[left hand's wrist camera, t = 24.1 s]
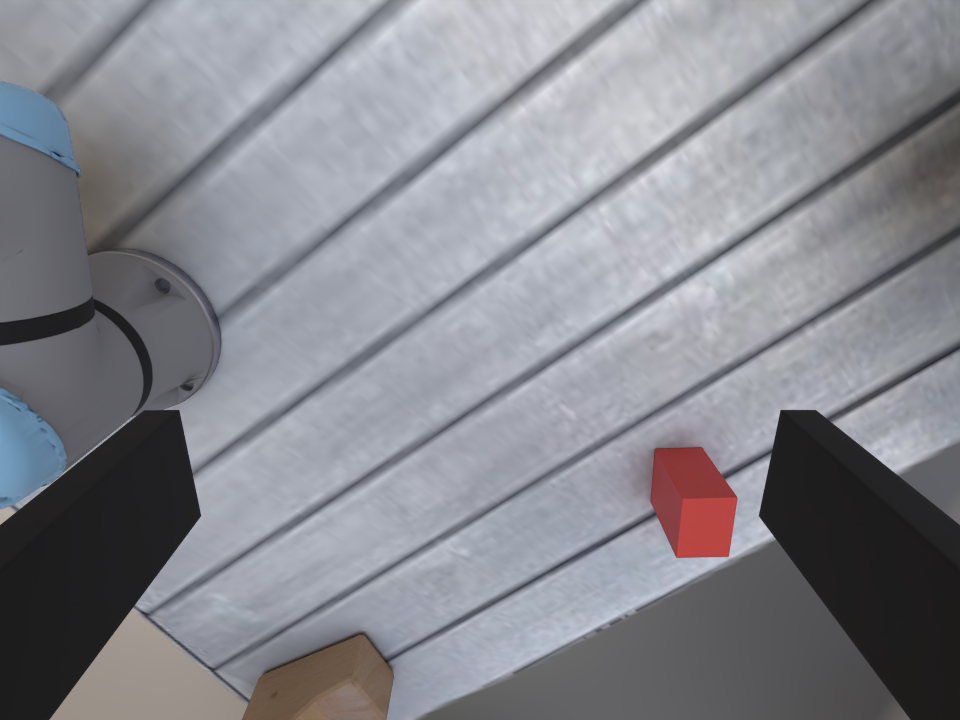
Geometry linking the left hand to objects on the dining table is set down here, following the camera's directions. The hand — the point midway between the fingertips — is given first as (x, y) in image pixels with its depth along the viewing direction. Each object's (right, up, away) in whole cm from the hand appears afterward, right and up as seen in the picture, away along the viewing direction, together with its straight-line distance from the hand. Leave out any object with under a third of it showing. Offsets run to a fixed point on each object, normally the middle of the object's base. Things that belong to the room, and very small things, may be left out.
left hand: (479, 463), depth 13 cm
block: (+20, -10, +47) cm, 52 cm away
